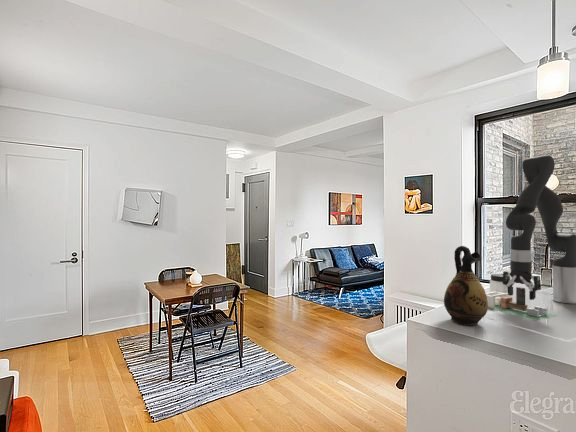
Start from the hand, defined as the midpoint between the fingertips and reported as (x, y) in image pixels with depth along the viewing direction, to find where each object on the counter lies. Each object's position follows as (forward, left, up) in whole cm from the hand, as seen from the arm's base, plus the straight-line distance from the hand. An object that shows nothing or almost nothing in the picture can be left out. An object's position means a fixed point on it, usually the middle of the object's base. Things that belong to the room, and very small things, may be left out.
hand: (521, 297), depth 141 cm
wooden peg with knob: (0, -2, -6) cm, 6 cm away
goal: (0, -11, -6) cm, 13 cm away
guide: (0, +6, -6) cm, 9 cm away
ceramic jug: (+33, -2, -7) cm, 34 cm away
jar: (-15, -18, -7) cm, 25 cm away
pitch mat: (0, -3, -7) cm, 7 cm away
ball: (0, -10, -4) cm, 11 cm away
